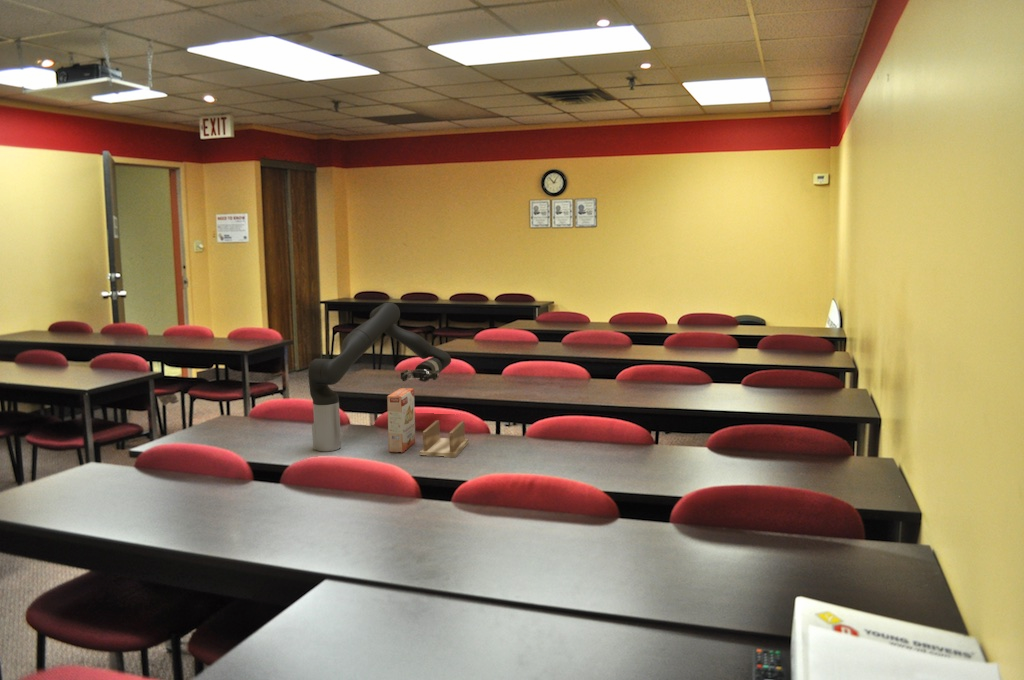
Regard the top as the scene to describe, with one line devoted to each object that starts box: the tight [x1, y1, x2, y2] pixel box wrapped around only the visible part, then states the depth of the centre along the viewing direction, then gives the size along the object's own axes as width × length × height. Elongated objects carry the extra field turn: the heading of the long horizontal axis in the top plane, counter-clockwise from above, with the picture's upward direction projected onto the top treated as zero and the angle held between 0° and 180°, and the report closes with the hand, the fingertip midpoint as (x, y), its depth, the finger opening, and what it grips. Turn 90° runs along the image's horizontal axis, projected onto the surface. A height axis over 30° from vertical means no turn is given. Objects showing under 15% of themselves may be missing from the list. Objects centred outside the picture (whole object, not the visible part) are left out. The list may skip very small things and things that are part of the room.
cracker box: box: [386, 387, 416, 454], centre depth 282 cm, size 14×6×21 cm, turn 168°
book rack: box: [419, 419, 469, 458], centre depth 280 cm, size 13×18×8 cm
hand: (414, 378), depth 295 cm, fingers open, 8 cm apart
